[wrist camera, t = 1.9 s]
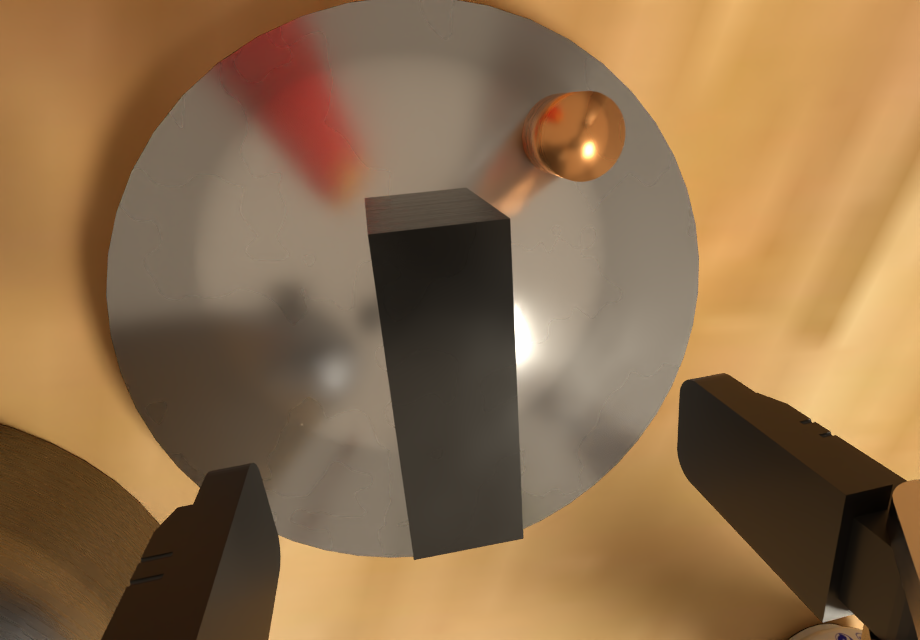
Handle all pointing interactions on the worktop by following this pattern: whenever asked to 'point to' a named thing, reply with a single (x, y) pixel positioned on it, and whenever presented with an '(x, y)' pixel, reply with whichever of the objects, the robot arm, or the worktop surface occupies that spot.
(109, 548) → the pot
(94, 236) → the worktop surface
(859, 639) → the beverage can
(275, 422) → the lid
